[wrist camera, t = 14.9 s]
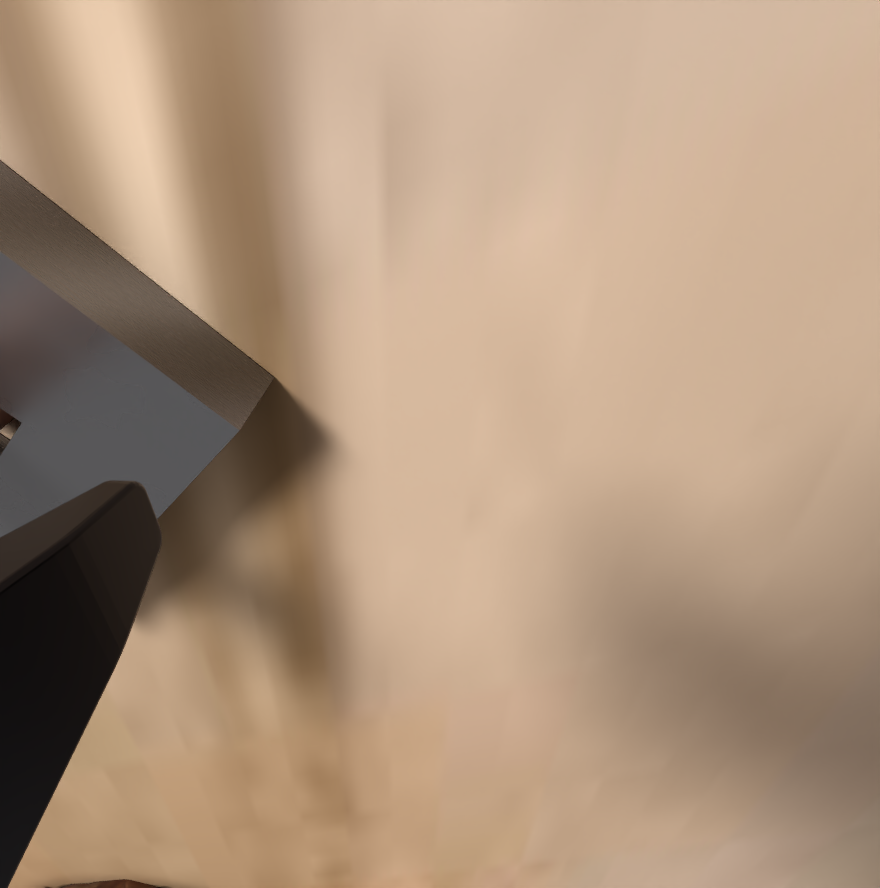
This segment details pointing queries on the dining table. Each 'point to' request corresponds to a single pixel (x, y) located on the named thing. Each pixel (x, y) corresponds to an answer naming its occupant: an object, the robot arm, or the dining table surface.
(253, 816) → the dining table surface
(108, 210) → the dining table surface
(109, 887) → the chocolate cake
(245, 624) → the dining table surface
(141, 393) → the dark grey square base
